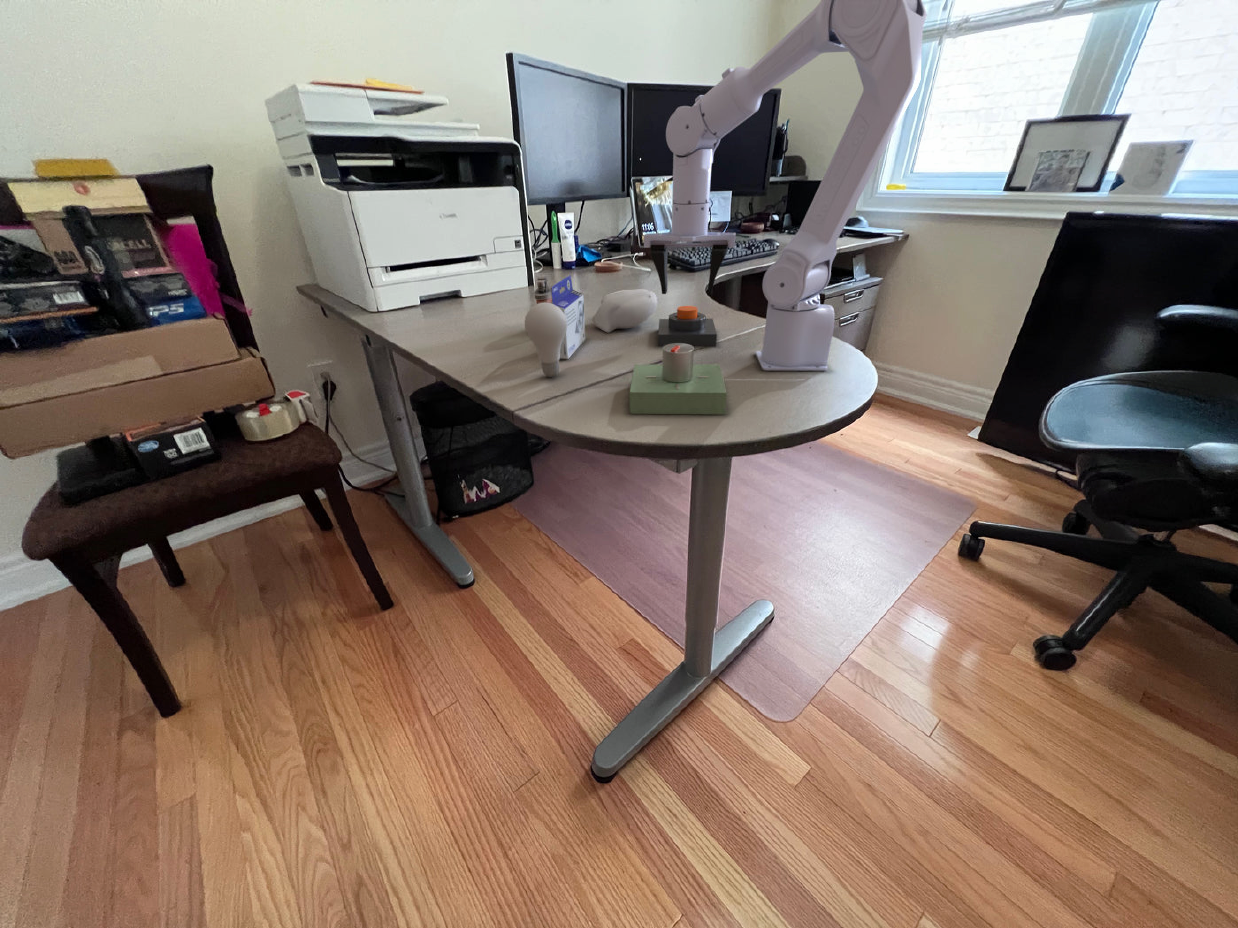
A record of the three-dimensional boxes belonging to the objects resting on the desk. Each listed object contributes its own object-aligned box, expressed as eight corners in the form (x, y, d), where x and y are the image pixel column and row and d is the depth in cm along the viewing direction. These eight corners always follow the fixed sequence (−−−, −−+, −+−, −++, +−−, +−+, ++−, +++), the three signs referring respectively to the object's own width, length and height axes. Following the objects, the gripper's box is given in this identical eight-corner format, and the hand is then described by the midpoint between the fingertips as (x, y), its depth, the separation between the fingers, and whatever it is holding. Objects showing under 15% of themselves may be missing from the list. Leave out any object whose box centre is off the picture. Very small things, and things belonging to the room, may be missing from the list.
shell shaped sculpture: (653, 315, 104) (653, 283, 100) (661, 332, 93) (661, 297, 90) (591, 318, 103) (589, 286, 100) (592, 335, 92) (590, 300, 89)
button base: (712, 330, 93) (713, 308, 91) (716, 346, 85) (717, 323, 83) (659, 330, 94) (659, 309, 92) (658, 347, 86) (658, 324, 84)
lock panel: (718, 384, 70) (720, 363, 69) (724, 414, 62) (726, 391, 60) (634, 384, 71) (634, 363, 70) (630, 413, 63) (629, 391, 61)
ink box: (569, 360, 81) (563, 288, 75) (556, 360, 82) (548, 288, 76) (587, 339, 91) (582, 273, 85) (575, 339, 91) (569, 273, 85)
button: (696, 315, 89) (697, 305, 88) (697, 320, 86) (698, 310, 85) (676, 315, 89) (677, 305, 88) (676, 321, 86) (677, 311, 85)
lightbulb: (578, 372, 76) (573, 299, 71) (558, 386, 72) (550, 310, 66) (545, 367, 79) (537, 296, 73) (523, 380, 74) (513, 306, 68)
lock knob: (668, 370, 67) (669, 339, 65) (696, 374, 66) (698, 342, 64) (657, 380, 64) (657, 348, 62) (686, 384, 63) (687, 352, 60)
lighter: (553, 335, 94) (548, 280, 88) (536, 336, 94) (529, 281, 88) (558, 324, 100) (554, 272, 95) (542, 324, 100) (536, 273, 95)
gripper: (640, 206, 74) (641, 297, 82) (738, 204, 72) (730, 299, 79) (647, 202, 80) (647, 288, 87) (738, 200, 78) (730, 289, 85)
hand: (686, 293), depth 84 cm, fingers open, 7 cm apart
